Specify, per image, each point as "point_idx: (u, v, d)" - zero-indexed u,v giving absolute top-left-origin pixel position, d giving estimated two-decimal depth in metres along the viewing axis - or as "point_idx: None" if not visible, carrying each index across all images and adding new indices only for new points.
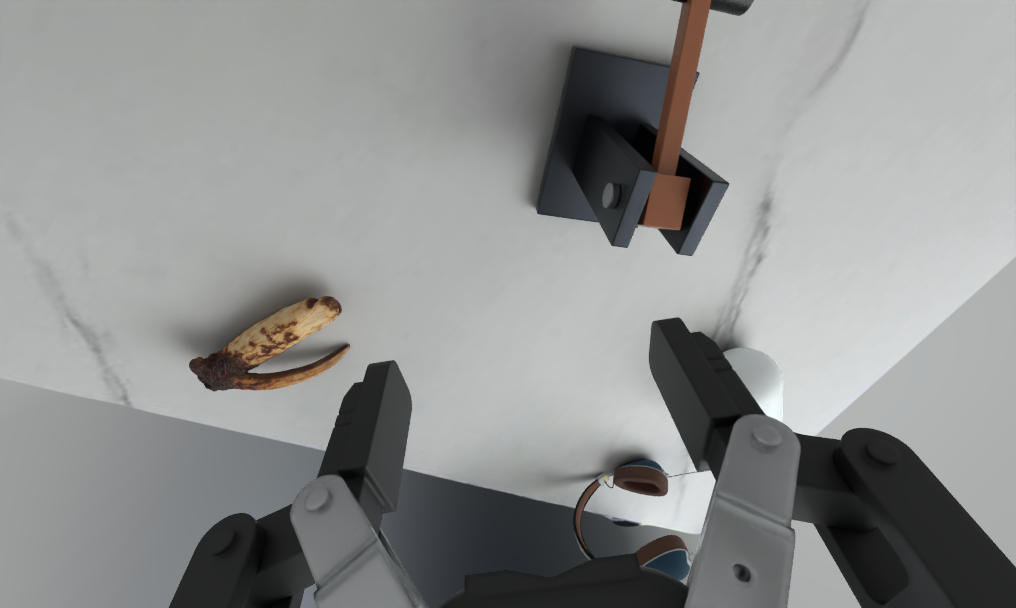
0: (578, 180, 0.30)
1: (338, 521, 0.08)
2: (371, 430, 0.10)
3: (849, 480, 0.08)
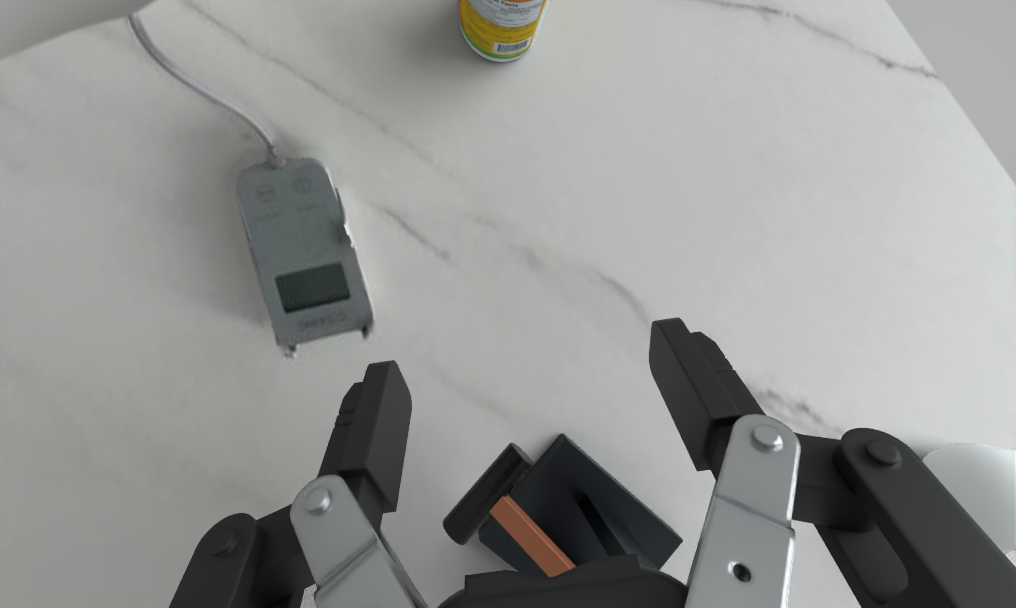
0: None
1: (338, 521, 0.08)
2: (371, 430, 0.10)
3: (849, 480, 0.08)
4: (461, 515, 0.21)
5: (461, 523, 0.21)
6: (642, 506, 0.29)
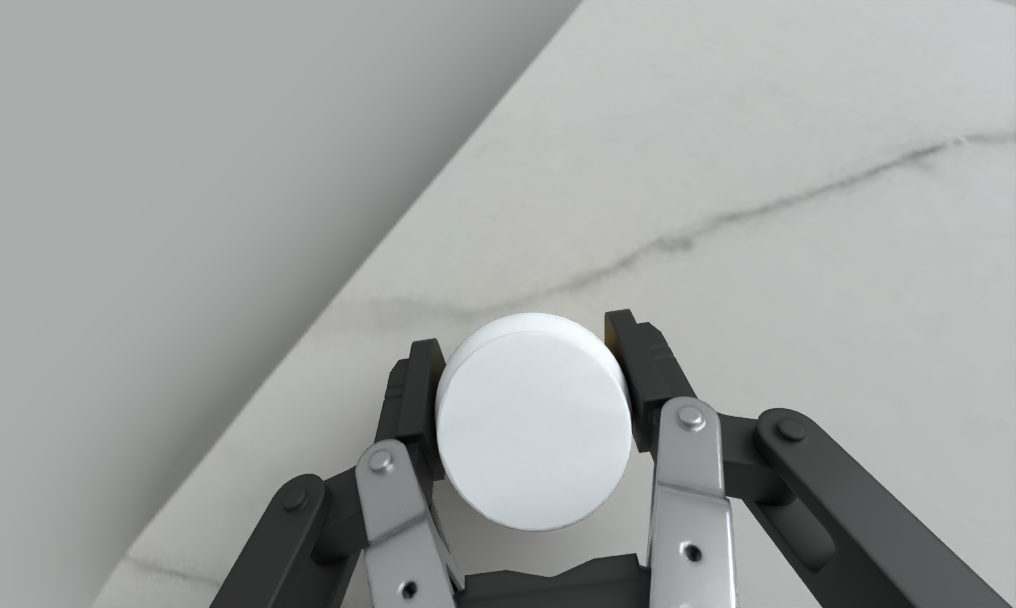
0: None
1: (395, 486, 0.09)
2: (423, 400, 0.11)
3: (762, 455, 0.08)
4: None
5: None
6: None
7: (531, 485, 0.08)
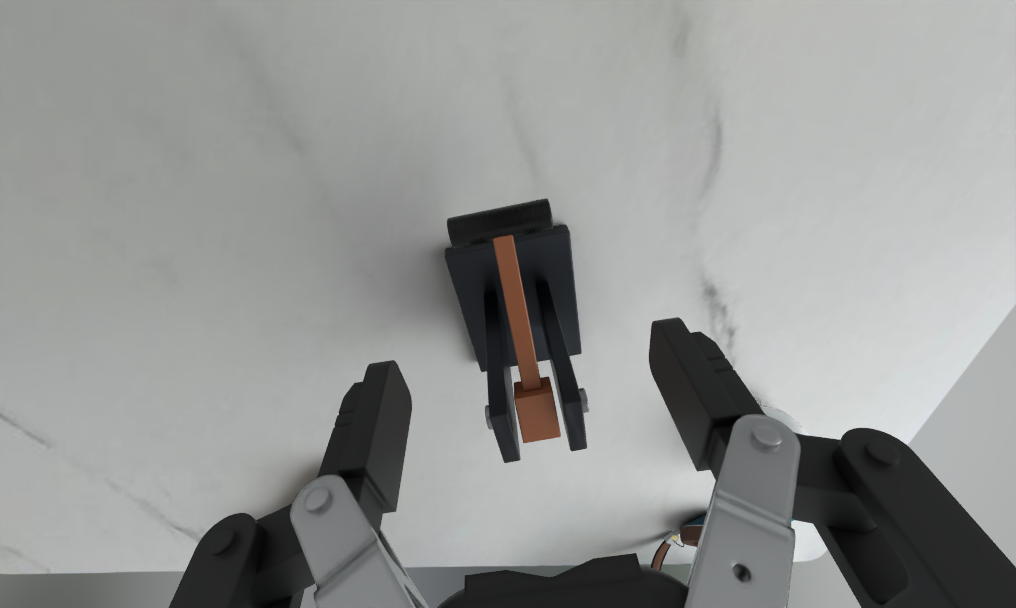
0: None
1: (338, 521, 0.08)
2: (371, 430, 0.10)
3: (849, 480, 0.08)
4: (469, 225, 0.21)
5: (465, 231, 0.21)
6: (576, 316, 0.33)
7: None
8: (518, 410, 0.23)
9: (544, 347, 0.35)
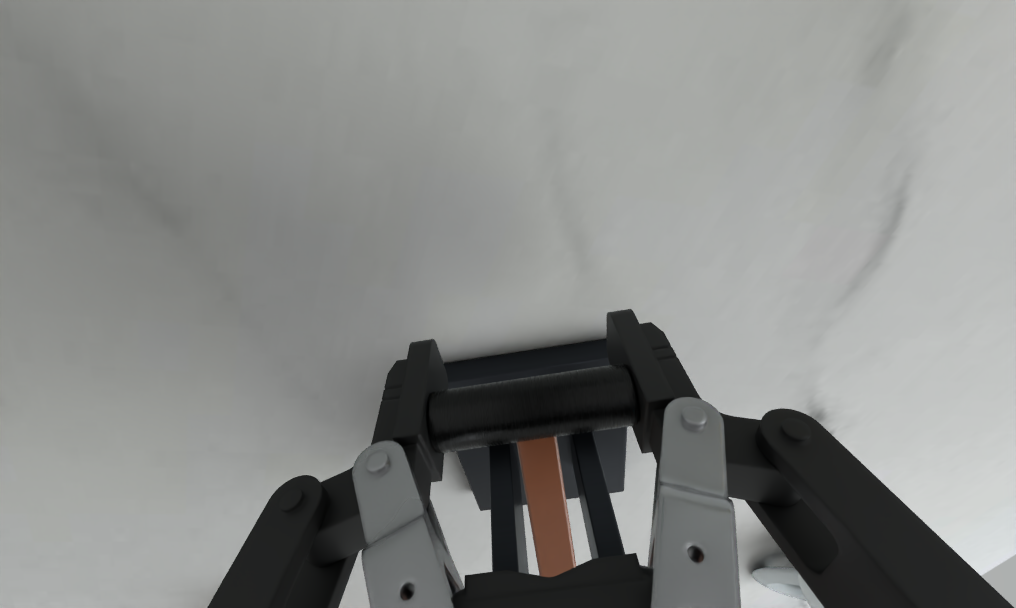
0: None
1: (392, 487, 0.09)
2: (420, 402, 0.11)
3: (766, 456, 0.08)
4: (471, 422, 0.10)
5: (463, 434, 0.10)
6: (624, 452, 0.22)
7: None
8: None
9: (572, 485, 0.24)
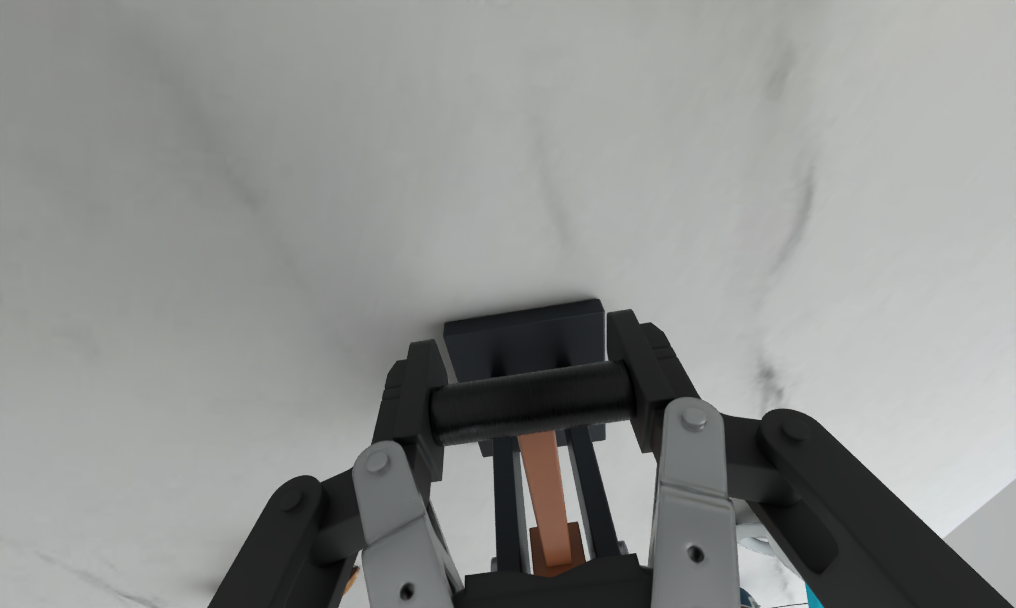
0: None
1: (392, 487, 0.09)
2: (420, 402, 0.11)
3: (766, 456, 0.08)
4: (474, 427, 0.11)
5: (467, 437, 0.11)
6: None
7: None
8: None
9: (561, 433, 0.28)
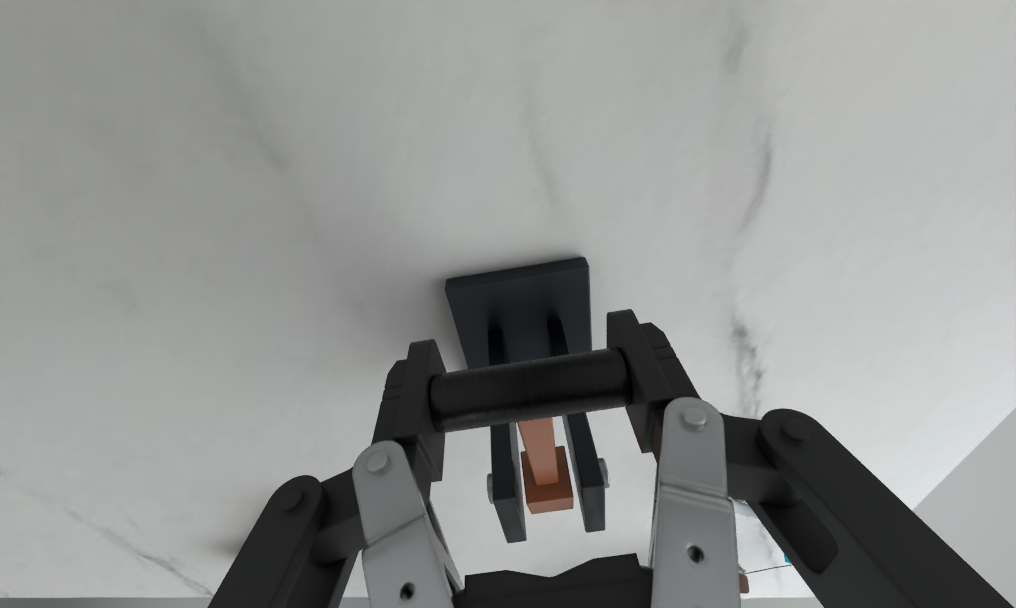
0: None
1: (392, 487, 0.09)
2: (420, 402, 0.11)
3: (766, 456, 0.08)
4: (475, 420, 0.11)
5: (468, 427, 0.11)
6: None
7: None
8: (530, 506, 0.19)
9: None
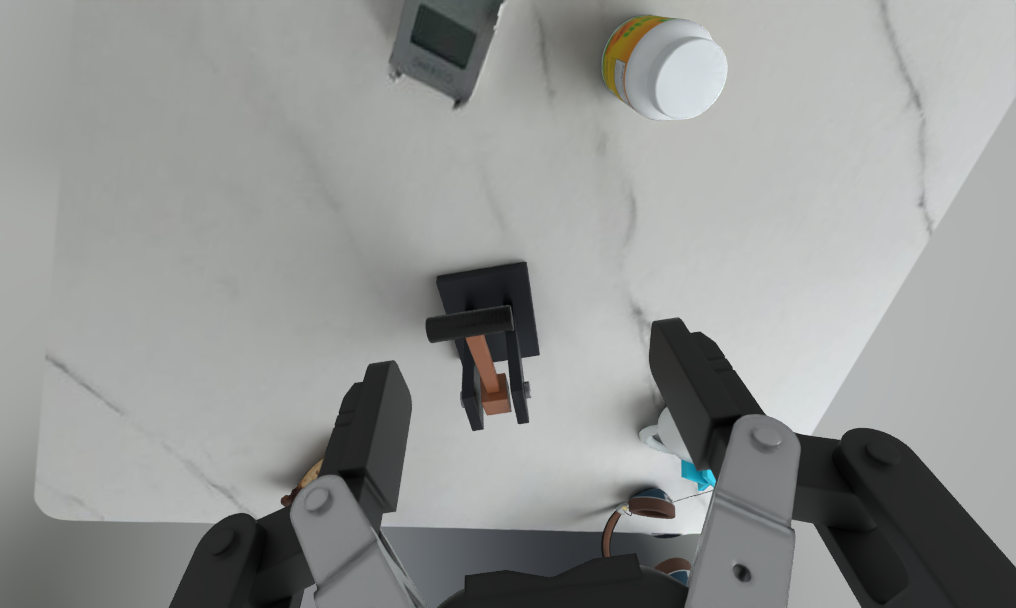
0: None
1: (338, 521, 0.08)
2: (371, 430, 0.10)
3: (849, 480, 0.08)
4: (445, 335, 0.26)
5: (442, 339, 0.26)
6: (535, 327, 0.44)
7: (671, 91, 0.22)
8: (484, 406, 0.34)
9: None
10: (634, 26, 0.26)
